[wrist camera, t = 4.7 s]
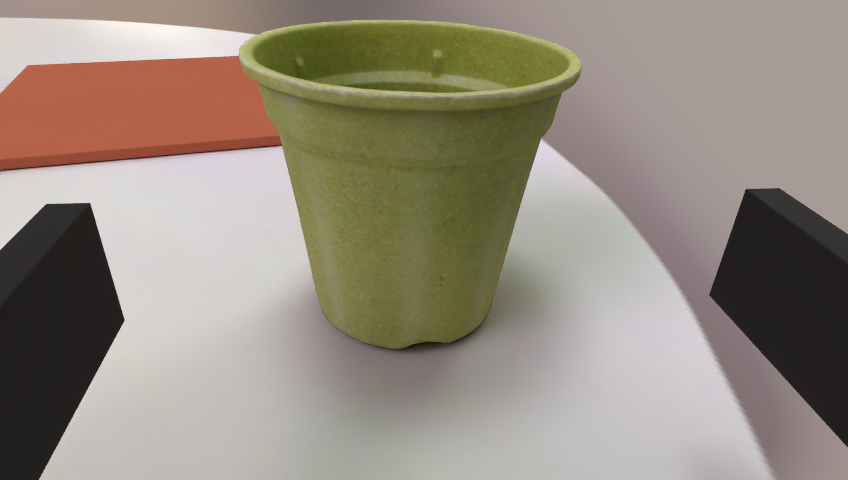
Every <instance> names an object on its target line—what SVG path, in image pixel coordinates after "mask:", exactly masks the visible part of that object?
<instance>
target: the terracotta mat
mask: <svg viewBox="0 0 848 480" xmlns="http://www.w3.org/2000/svg"><path fill="white" fill-rule="evenodd" d="M273 145H282V143H281V139H280V136H279V132H278V130H277V129H276V128H275V127H274V126H273V124H272V123H271V121H270V120H269V118H268V115H267V112H266V109H265V106H264V102H263V98H262V95H261V91H260V88H259V84H258V82H256V81H254V80H253V79H251V78H250V77H249V76H248V75H247V74H246V73H245V72H244V70H243V69H242V67H241V64H240V59H239V56H230V57H207V58H184V59H161V60H139V61H116V62H93V63H70V64H48V65H28V66H27V67H26V68H25V69H24V70H23V71H22V72H21V73H20V74H19V75H18V76H17V77H16V78H15V79H14V80H13V81H12V82H11V83H10V84H9V85H8V86H7V87H6V88H5V89H4V90H3V92H2V93H1V94H0V170H5V169H16V168H27V167H38V166H49V165H61V164H72V163H83V162H94V161H105V160H116V159H128V158H139V157H150V156H161V155H172V154H183V153H194V152H206V151H217V150H228V149H239V148H250V147H261V146H273Z"/></svg>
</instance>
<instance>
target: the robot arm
mask: <svg viewBox="0 0 848 480" xmlns="http://www.w3.org/2000/svg"><path fill="white" fill-rule="evenodd" d="M709 295H710V296H711V297H712V298H713V300H714V301H715V302H716V303H717V304H718V305H719V306H720V307H721V309H722V310H723V311H724V312H725V313H726V314H727V315H728V316H729V317H730V318H731V319H732V321H733V322H734V323H735V324H736V325H737V326H738V327H739V328H740V329H741V331H743V333H744V334H745V335H746V336H747V337H748V338H749V339H750V340H751V342H752V343H753V344H754V345H755V346H756V347H757V348H758V349H759V350H760V351H761V353H762V354H763V355H764V356H765V357H766V358H767V359H768V360H769V361H770V362H771V364H772V365H773V366H774V367H775V368H776V369H777V370H778V371H779V372H780V373H781V374H782V376H783V377H784V378H785V379H786V380H787V381H788V382H789V383H790V384H791V386H792V387H793V388H794V389H795V390H796V391H797V392H798V393H799V394H800V395H801V397H802V398H803V399H804V400H805V401H806V402H807V403H808V404H809V405H810V406H811V408H812V409H813V410H814V411H815V412H816V413H817V414H818V415H819V416H820V417H821V418H822V419H823V421H824V422H825V423H826V424H827V425H828V426H829V427H830V428H831V429H832V431H833V432H834V433H835V434H836V435H837V436H838V437H839V438H840V439H841V440H842V442H843V443H844V444H845V445H846V446H847V447H848V234H847V233H845V232H844V231H842V230H840V229H839V228H838V227H836V226H835V225H833V224H832V223H830V222H829V221H827V220H826V219H824V218H823V217H821V216H820V215H818V214H817V213H815V212H814V211H812V210H811V209H809V208H808V207H806V206H805V205H803V204H802V203H800V202H799V201H797V200H796V199H794V198H793V197H791V196H790V195H788V194H787V193H785V192H784V191H782V190H781V189H779V188H777V189H775V188H774V189H746V190H745V193H744V196H743V199H742V202H741V205H740V208H739V211H738V213H737V216H736V219H735V222H734V225H733V228H732V231H731V234H730V237H729V239H728V243H727V246H726V249H725V251H724V254H723V257H722V260H721V263H720V266H719V268H718V271H717V274H716V277H715V280H714V283H713V286H712V289H711V292H710V294H709ZM123 322H124V316H123V313H122V310H121V306H120V303H119V299H118V296H117V293H116V289H115V286H114V282H113V279H112V276H111V272H110V269H109V266H108V262H107V259H106V255H105V252H104V249H103V245H102V242H101V238H100V235H99V232H98V228H97V225H96V221H95V218H94V215H93V211H92V208H91V204H90V203H72V204H46V205H45V206H44V207H43V208H42V209H41V210H40V211H39V212H38V213H37V214H36V215H35V216H34V217H33V218H32V219H31V220H30V221H29V222H28V223H27V224H26V225H25V226H24V227H23V228H22V229H21V230H20V231H19V232H18V233H17V234H16V235H15V236H14V237H13V238H12V239H11V240H10V241H9V242H8V243H7V244H6V245H5V246H4V247H3V248H2V249H1V250H0V480H39V478H40V476H41V475H42V473H43V471H44V469H45V467H46V465H47V463H48V462H49V460H50V458H51V456H52V454H53V452H54V450H55V449H56V447H57V445H58V443H59V441H60V439H61V437H62V436H63V434H64V432H65V430H66V428H67V426H68V424H69V423H70V421H71V419H72V417H73V415H74V413H75V411H76V410H77V408H78V406H79V404H80V402H81V400H82V398H83V397H84V395H85V393H86V391H87V389H88V387H89V385H90V384H91V382H92V380H93V378H94V376H95V374H96V372H97V371H98V369H99V367H100V365H101V363H102V361H103V359H104V357H105V356H106V354H107V352H108V350H109V348H110V346H111V344H112V343H113V341H114V339H115V337H116V335H117V333H118V331H119V330H120V328H121V326H122V324H123Z"/></svg>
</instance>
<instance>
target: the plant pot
mask: <svg viewBox="0 0 848 480" xmlns="http://www.w3.org/2000/svg"><path fill="white" fill-rule="evenodd" d="M239 59H240V64H241V67H242V69H243V70H244V72H245V73H246V74H247V75H248V76H249V77H250V78H251V79H253V80H254V81H256V82H258V84H259V88H260V91H261V95H262V98H263V102H264V106H265V109H266V112H267V115H268V118H269V120H270V121H271V123H272V124H273V126H274V127H275V128H276V129H277V130H278V132H279V136H280V139H281V143H282V147H283V151H284V155H285V159H286V163H287V167H288V171H289V175H290V179H291V184H292V188H293V192H294V196H295V200H296V204H297V208H298V212H299V217H300V222H301V226H302V230H303V235H304V239H305V243H306V248H307V252H308V257H309V261H310V266H311V270H312V275H313V279H314V284H315V288H316V292H317V296H318V299H319V303H320V305H321V308H322V310H323V313H324V315H325V316H326V318H327V319H328V320H329V321H330V322H331V323H332V324H333V325H334V326H335V327H336V328H337V329H339V330H340V331H342V332H343V333H345V334H347V335H348V336H350V337H352V338H354V339H357V340H359V341H362V342H365V343H368V344H371V345H375V346H379V347H385V348H392V349H402V348H405V347H407V346H409V345H412V344H416V343H420V342H427V341H434V342H442V343H450V342H452V341H455V340H457V339H459V338H462V337H464V336H466V335H467V334H469V333H470V332H472V331H473V330H474V329H475V328H477V327H478V326H479V325H480V324H481V323H482V322H483V320H484V319H485V318H486V316H487V314H488V312H489V310H490V307H491V304H492V301H493V297H494V294H495V291H496V287H497V284H498V280H499V277H500V273H501V269H502V266H503V262H504V259H505V255H506V252H507V248H508V245H509V242H510V238H511V235H512V232H513V228H514V225H515V221H516V218H517V214H518V211H519V208H520V204H521V201H522V198H523V194H524V191H525V188H526V184H527V181H528V178H529V175H530V171H531V168H532V165H533V162H534V159H535V155H536V152H537V149H538V146H539V143H540V140H541V138H542V137H543V136H544V135H545V134H546V132H547V131H548V130H549V128H550V126H551V125H552V122H553V119H554V116H555V112H556V109H557V106H558V103H559V100H560V97H561V94H562V92H563V91H565V90H567V89H569V88H570V87H571V86H573V85H574V84H575V83H576V81H577V80H578V78H579V76H580V73H581V69H582V62H581V60H580V58H579V57H578V56H577V55H575V54H574V53H573V52H571V51H570V50H569V49H566V48H565V47H563V46H560V45H558V44H554V43H553V42H550V41H546V40H543V39H540V38H535V37H532V36H528V35H524V34H520V33H515V32H511V31H506V30H500V29H493V28H487V27H480V26H472V25H466V24H458V23H448V22H430V21H412V20H356V21H355V20H353V21H339V22H326V23H313V24H303V25H296V26H289V27H284V28H279V29H274V30H270V31H266V32H264V33H261V34H259V35H256V36H254V37H252V38H251V39H249V40H247V41H245V42H244V44H243V45H242V46H241V47H240V49H239Z"/></svg>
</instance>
